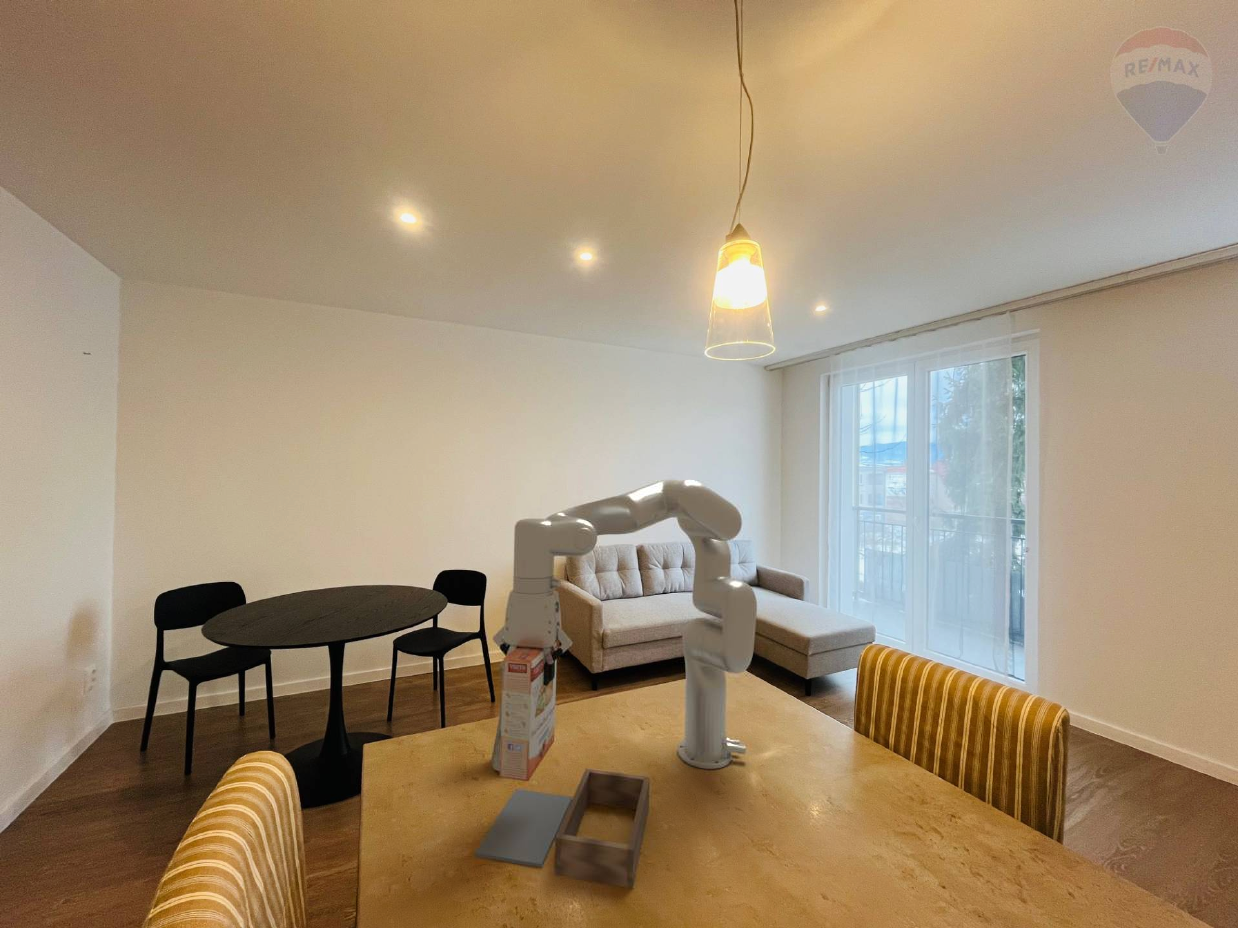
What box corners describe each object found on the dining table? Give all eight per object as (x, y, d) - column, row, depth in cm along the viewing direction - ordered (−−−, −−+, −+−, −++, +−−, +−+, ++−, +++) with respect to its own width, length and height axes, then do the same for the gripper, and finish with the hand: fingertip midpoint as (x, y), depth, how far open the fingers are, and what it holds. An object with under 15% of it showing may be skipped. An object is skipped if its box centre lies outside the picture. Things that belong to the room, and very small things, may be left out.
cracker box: (530, 783, 86) (532, 660, 87) (498, 778, 88) (500, 657, 88) (556, 741, 100) (558, 635, 101) (528, 738, 101) (530, 633, 102)
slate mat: (571, 799, 101) (572, 796, 101) (541, 867, 83) (541, 863, 84) (515, 791, 103) (515, 788, 103) (474, 856, 86) (475, 852, 86)
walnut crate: (648, 807, 99) (649, 776, 99) (632, 888, 80) (633, 850, 80) (585, 798, 102) (585, 768, 102) (554, 874, 82) (555, 837, 82)
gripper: (582, 583, 97) (580, 677, 96) (499, 578, 100) (496, 669, 99) (572, 591, 89) (569, 694, 89) (481, 586, 93) (479, 684, 92)
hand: (531, 680), depth 94 cm, fingers closed on cracker box, 5 cm apart
